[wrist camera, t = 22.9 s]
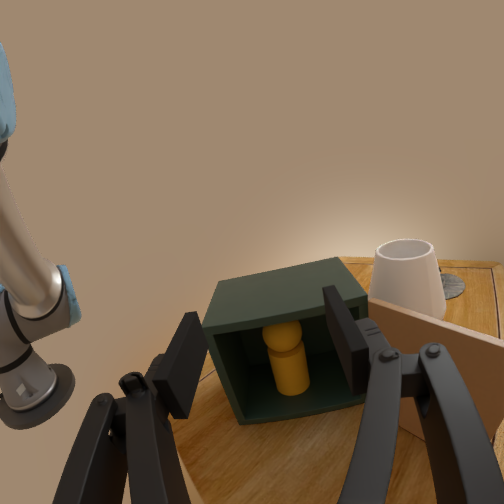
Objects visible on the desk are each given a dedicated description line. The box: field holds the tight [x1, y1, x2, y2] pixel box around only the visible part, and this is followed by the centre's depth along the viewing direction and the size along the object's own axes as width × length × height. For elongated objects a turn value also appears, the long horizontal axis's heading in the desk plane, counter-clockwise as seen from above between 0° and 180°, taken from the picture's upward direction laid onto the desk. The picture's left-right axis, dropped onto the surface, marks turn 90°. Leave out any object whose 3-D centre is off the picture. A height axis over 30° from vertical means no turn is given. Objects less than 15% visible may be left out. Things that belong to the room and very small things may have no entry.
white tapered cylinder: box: [368, 239, 446, 320], centre depth 37 cm, size 13×13×14 cm
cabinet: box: [201, 257, 369, 425], centre depth 33 cm, size 12×16×15 cm
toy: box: [262, 320, 310, 396], centre depth 33 cm, size 5×5×11 cm
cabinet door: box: [368, 298, 504, 441], centre depth 20 cm, size 6×16×15 cm, turn 28°
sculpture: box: [439, 268, 465, 299], centre depth 48 cm, size 12×9×8 cm
